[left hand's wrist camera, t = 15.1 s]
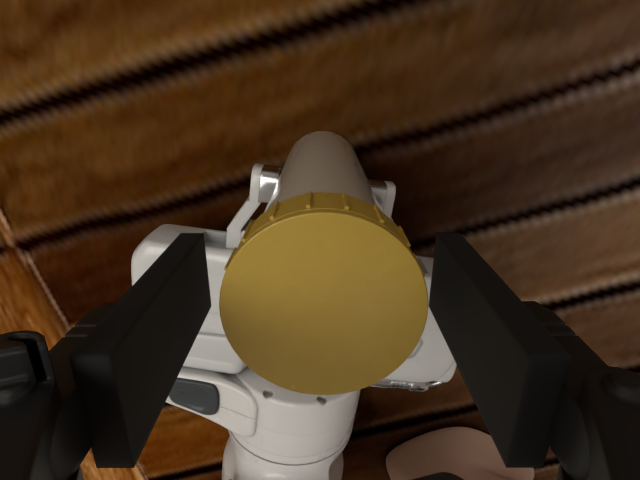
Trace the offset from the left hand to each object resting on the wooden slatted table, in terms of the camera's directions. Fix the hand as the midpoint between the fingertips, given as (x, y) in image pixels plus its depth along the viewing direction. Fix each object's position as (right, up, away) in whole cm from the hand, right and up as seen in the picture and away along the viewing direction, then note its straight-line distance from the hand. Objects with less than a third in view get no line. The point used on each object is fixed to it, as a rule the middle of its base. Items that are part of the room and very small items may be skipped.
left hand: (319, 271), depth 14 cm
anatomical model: (+13, -21, +26) cm, 36 cm away
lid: (0, -1, -3) cm, 3 cm away
